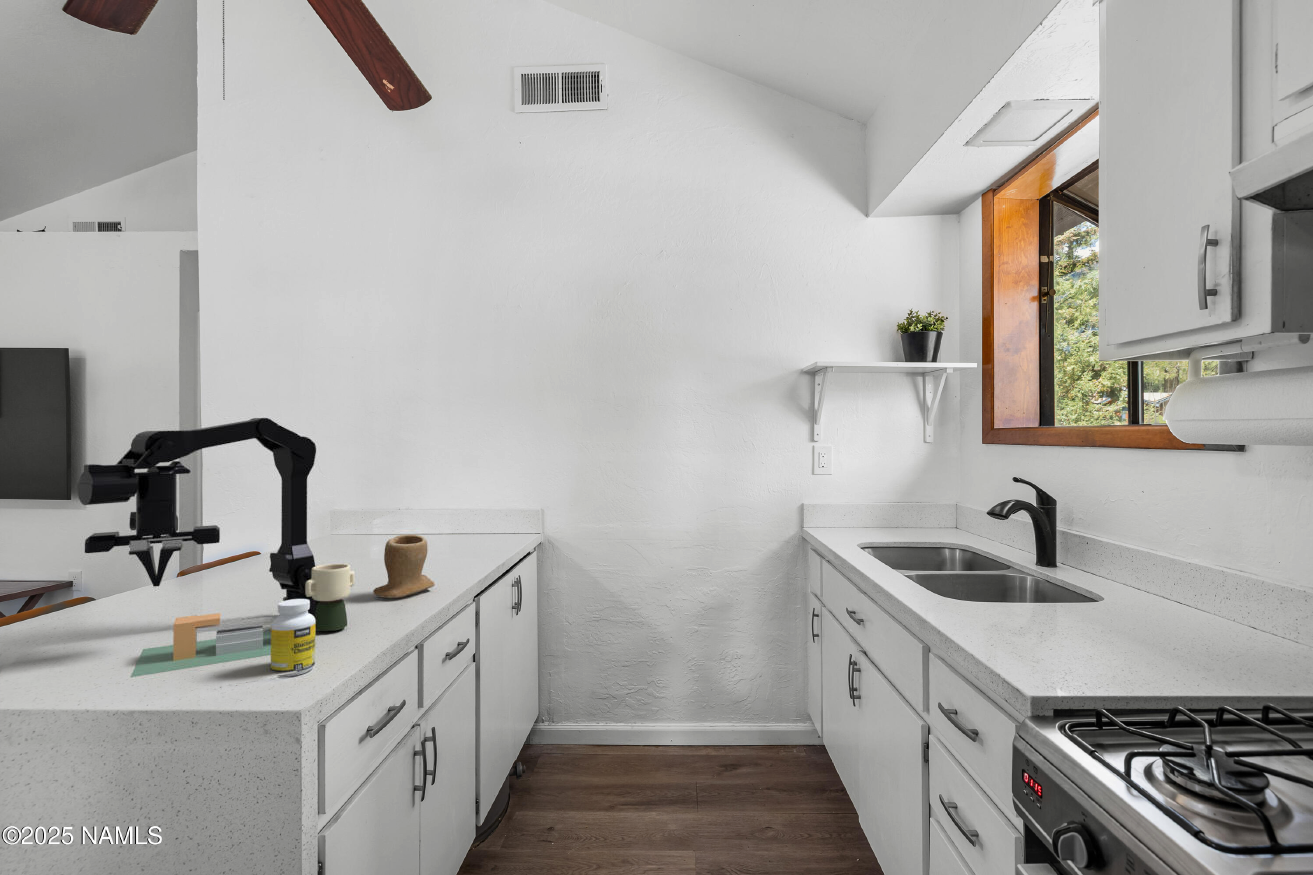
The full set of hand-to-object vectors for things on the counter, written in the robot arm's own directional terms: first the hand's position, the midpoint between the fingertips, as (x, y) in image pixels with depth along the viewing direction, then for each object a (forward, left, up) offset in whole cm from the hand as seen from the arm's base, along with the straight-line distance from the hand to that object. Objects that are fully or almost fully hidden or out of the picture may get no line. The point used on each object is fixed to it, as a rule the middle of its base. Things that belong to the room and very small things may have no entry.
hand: (156, 586), depth 113 cm
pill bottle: (-20, +23, -13) cm, 33 cm away
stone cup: (-48, -22, -13) cm, 55 cm away
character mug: (-28, +1, -13) cm, 31 cm away
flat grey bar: (-13, +7, -8) cm, 16 cm away
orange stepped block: (-6, +7, -12) cm, 15 cm away
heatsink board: (-10, +7, -13) cm, 17 cm away
